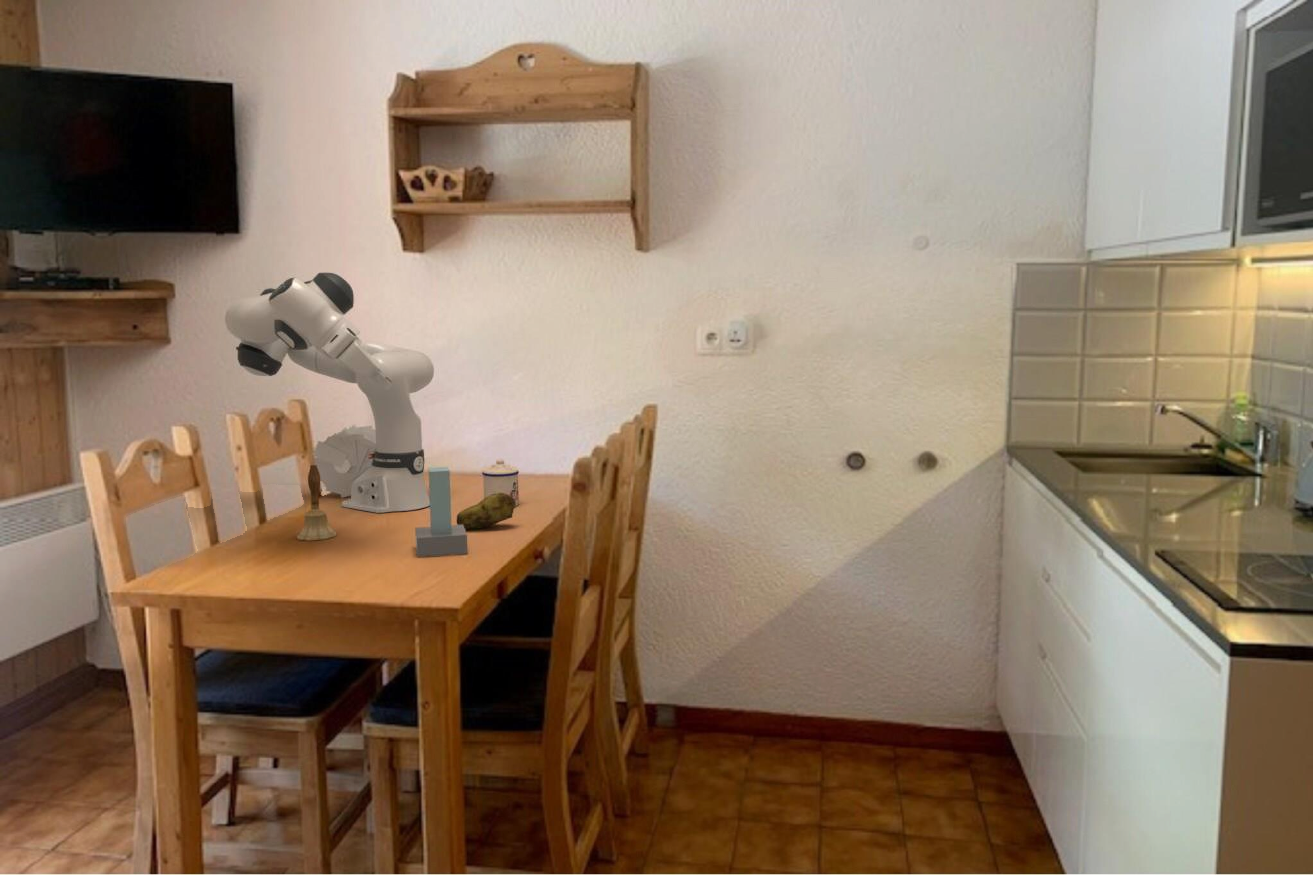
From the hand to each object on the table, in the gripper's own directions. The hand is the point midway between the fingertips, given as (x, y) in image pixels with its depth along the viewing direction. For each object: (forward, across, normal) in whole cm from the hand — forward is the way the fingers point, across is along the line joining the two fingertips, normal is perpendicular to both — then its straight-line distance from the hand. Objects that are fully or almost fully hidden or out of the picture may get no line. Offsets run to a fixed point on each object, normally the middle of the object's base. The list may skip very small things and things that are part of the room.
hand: (389, 386), depth 222 cm
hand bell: (+12, -9, -36) cm, 39 cm away
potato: (+38, -6, -10) cm, 40 cm away
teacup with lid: (+42, -32, -5) cm, 54 cm away
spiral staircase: (+17, -62, -30) cm, 71 cm away
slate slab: (+30, +12, -17) cm, 37 cm away
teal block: (+27, +12, -14) cm, 33 cm away
